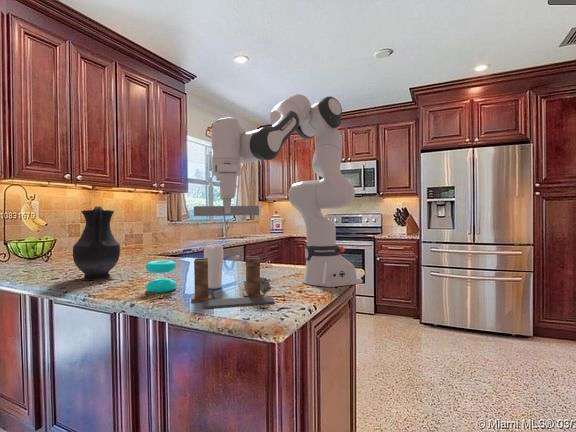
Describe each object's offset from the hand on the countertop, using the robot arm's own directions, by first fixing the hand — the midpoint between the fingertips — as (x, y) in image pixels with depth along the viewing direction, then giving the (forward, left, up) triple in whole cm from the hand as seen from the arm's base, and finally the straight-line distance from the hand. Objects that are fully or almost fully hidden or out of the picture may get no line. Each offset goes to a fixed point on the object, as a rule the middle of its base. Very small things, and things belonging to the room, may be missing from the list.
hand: (227, 213), depth 105 cm
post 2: (-8, 0, -27) cm, 28 cm away
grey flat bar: (-3, +7, -27) cm, 28 cm away
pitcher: (+51, -47, -27) cm, 74 cm away
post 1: (+8, 0, -27) cm, 28 cm away
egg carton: (-11, -10, -27) cm, 31 cm away
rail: (0, 0, -1) cm, 1 cm away
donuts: (+22, -17, -27) cm, 39 cm away
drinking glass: (+4, -16, -27) cm, 31 cm away
